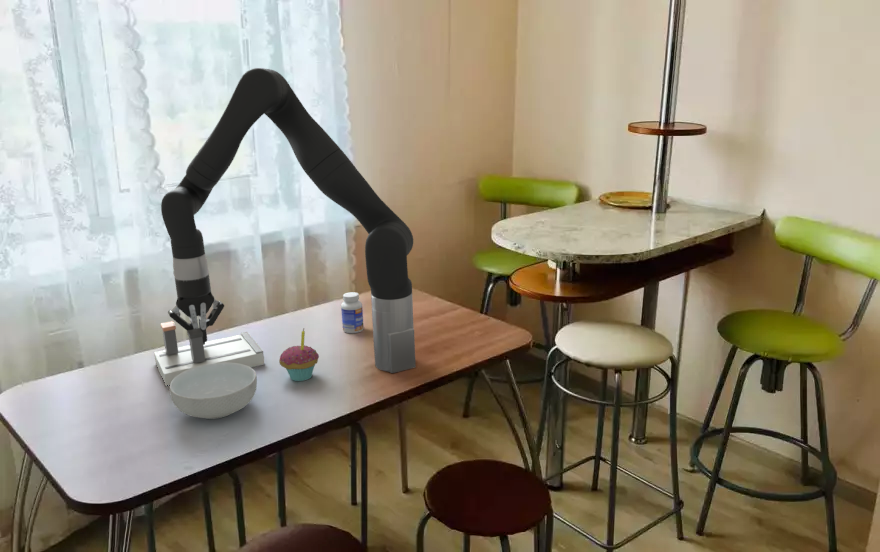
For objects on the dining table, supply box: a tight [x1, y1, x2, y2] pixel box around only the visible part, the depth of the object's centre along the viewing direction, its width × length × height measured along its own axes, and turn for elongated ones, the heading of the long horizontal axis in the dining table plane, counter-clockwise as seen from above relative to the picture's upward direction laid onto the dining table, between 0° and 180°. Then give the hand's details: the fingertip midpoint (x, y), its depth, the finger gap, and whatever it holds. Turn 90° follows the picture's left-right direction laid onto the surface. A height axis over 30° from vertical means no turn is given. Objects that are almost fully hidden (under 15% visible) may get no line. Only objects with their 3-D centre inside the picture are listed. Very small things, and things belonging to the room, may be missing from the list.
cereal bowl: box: [169, 363, 258, 420], centre depth 149 cm, size 17×17×7 cm
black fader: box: [186, 328, 205, 363], centre depth 165 cm, size 3×3×7 cm
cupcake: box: [278, 328, 320, 382], centre depth 163 cm, size 9×8×12 cm
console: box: [153, 331, 265, 387], centre depth 172 cm, size 14×22×3 cm, turn 119°
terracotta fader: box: [160, 320, 179, 355], centre depth 170 cm, size 3×3×7 cm
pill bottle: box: [340, 291, 364, 334], centre depth 189 cm, size 5×5×10 cm
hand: (201, 343), depth 174 cm, fingers closed
